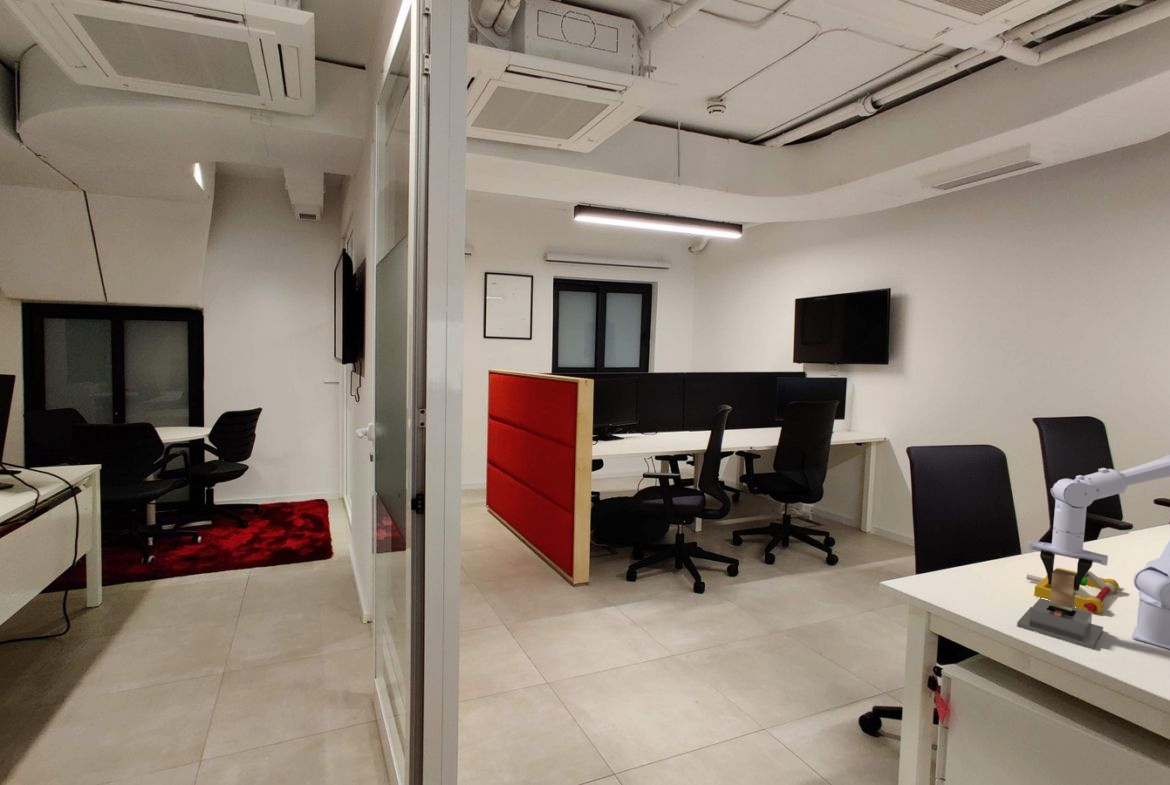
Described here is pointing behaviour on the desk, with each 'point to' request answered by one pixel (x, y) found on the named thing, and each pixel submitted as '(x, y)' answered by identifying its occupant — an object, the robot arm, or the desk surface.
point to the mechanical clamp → (1080, 590)
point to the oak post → (1063, 589)
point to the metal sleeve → (1062, 623)
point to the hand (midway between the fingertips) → (1063, 586)
